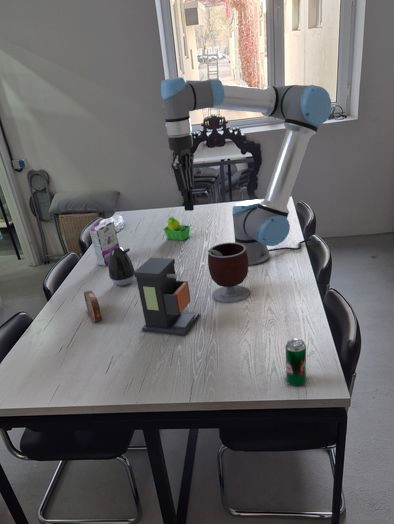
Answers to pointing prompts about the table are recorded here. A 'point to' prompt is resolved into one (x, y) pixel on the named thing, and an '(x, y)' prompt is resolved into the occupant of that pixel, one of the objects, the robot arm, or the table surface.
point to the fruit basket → (176, 230)
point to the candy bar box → (104, 241)
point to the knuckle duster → (115, 222)
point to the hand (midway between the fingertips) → (189, 209)
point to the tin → (92, 305)
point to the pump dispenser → (120, 266)
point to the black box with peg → (162, 298)
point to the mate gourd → (228, 270)
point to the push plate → (182, 297)
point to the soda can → (295, 362)
